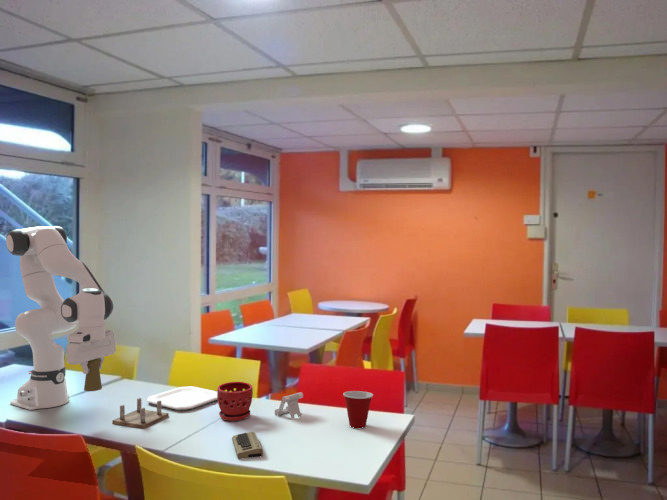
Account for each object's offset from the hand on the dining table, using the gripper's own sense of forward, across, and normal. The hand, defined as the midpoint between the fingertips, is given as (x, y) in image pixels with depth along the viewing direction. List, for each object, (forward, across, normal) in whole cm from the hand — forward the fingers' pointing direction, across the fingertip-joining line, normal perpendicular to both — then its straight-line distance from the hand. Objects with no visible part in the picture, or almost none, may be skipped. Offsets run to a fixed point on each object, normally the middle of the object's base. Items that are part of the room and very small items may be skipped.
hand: (92, 371), depth 203 cm
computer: (+20, 0, +63) cm, 66 cm away
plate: (+20, -36, +14) cm, 43 cm away
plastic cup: (+19, -33, +90) cm, 98 cm away
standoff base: (+19, -10, +13) cm, 25 cm away
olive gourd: (+7, 0, 0) cm, 7 cm away
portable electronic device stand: (+19, -35, +62) cm, 74 cm away
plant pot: (+19, -25, +44) cm, 54 cm away
